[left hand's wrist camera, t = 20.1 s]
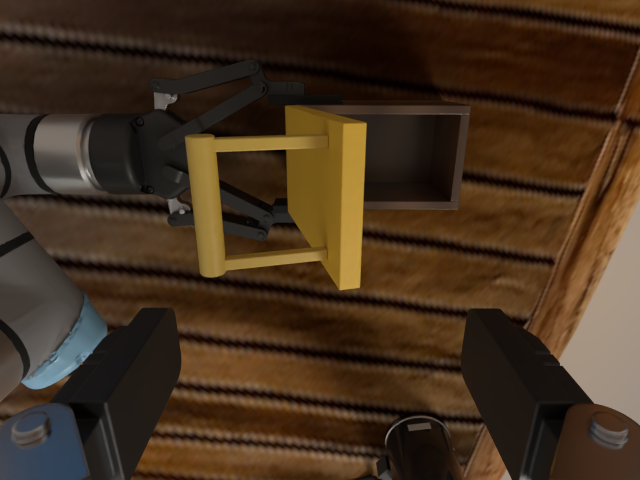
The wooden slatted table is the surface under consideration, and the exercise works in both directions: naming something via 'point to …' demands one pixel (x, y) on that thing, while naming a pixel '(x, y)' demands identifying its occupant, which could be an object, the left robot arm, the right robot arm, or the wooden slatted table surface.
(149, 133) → the right robot arm
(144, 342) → the left robot arm
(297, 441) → the wooden slatted table surface
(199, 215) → the lid
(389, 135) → the chest
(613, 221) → the wooden slatted table surface
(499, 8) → the wooden slatted table surface
